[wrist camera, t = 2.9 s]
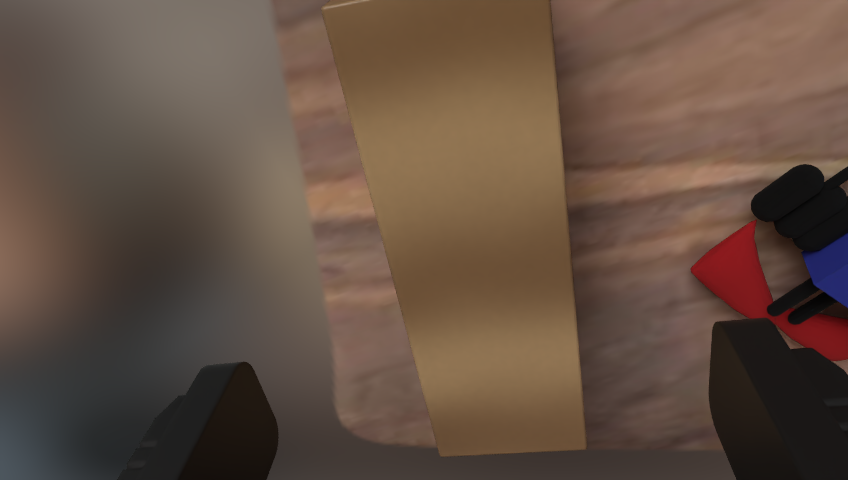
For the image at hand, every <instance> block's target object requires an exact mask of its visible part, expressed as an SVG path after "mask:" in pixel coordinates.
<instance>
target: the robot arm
mask: <svg viewBox="0 0 848 480" xmlns="http://www.w3.org/2000/svg"><path fill="white" fill-rule="evenodd" d="M709 403H710V409H711V414H712V419H713V422H714V426H715V429H716V431H717V434H718V436H719V439H720V441H721V443H722V446H723V448H724V451H725V453H726V455H727V458H728V460H729V462H730V465H731V467H732V470H733V472H734V475H735V477H736V479H737V480H848V375H847V373H846V372H845V371H844V370H843V369H842V368H840V367H839V366H837V365H836V364H834V363H833V362H832V361H830V360H829V359H827V358H826V357H824V356H823V355H822V354H820V353H819V352H817V351H816V350H814V349H813V348H800V349H790V348H789V347H788V345H787V344H786V342H785V340H784V339H783V337H782V336H781V334H780V333H779V331H778V330H777V328H776V327H775V325H774V324H773V322H772V321H771V320H770V319H768V318H753V319H742V320H731V321H719V322H715V324H714V326H713V330H712V343H711V360H710V377H709ZM277 446H278V426H277V422H276V419H275V416H274V414H273V412H272V410H271V408H270V405H269V403H268V401H267V398H266V396H265V394H264V392H263V390H262V387H261V385H260V383H259V381H258V378H257V376H256V374H255V371H254V370H253V368H252V366H251V365H250V364H249V363H247V362H237V363H225V364H214V365H206V366H205V367H203V368H202V369H201V370H200V372H199V373H198V375H197V376H196V378H195V380H194V381H193V383H192V385H191V387H190V388H189V390H188V392H187V393H186V395H183V396H178V397H177V398H176V399H175V400H174V401H173V402H172V403H171V404H170V405H169V406H168V407H167V408H166V409H165V410H163V412H161V413H160V414H159V415H158V416H157V417H156V418H155V420H154V421H153V423H152V425H151V426H150V428H149V429H148V431H147V432H146V434H145V436H144V437H143V439H142V441H141V442H140V448H137V449H136V450H135V452H134V453H133V455H132V456H131V458H130V460H129V461H128V463H127V469H126V470H123V471H122V472H121V474H120V476H119V477H118V479H117V480H266V479H267V476H268V474H269V471H270V468H271V465H272V463H273V460H274V458H275V455H276V451H277Z"/></svg>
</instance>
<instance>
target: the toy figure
mask: <svg viewBox="0 0 848 480" xmlns="http://www.w3.org/2000/svg"><path fill="white" fill-rule="evenodd" d="M847 180H848V167H846V168H845V169H843V170H842V171H840V172H839V173H837V174H836V175H834V176H833V177H832V178H830V179H829V180H827V181H826V182H824V176H823V174H822V172H821V171H820V170H819V169H818V168H817V167H814V166H812V165H807V164H804V165H799V166H796V167H794V168H792V169H791V170H789V171H788V172H787V173H785V174H784V175H782V176H781V177H780V178H778V179H777V180H776V181H774V182H773V183H772V184H770V185H769V186H767V187H766V188H765V189H763V190H762V191H761V192H759V193H758V194H756V195H755V196H754V198H753V200H752V202H751V210H752V212H753V214H754V215H755V216H756V217H757V218H758V219H760V220H762V221H765V222H772V221H774V226H775V229H776V231H777V232H778V233H779V234H780V235H782V236H783V237H786V238H792V240H793V242H794V244H795V245H796V246H797V247H798V248H799V249H801V250H804V251H802V252H801V253H802V255H803V258H804V261H805V263H806V266H807V268H808V271H809V273H810V276H811V278H810V279H808V280H807V281H805V282H804V283H802V284H801V285H799V286H798V287H796V288H794V289H793V290H791V291H790V292H788V293H787V294H785V295H784V296H782V297H781V298H779V299H778V300H776V301H774V302H773V299H772V296H771V293H770V291H769V288H768V285H767V282H766V280H765V277H764V274H763V271H762V268H761V265H760V262H759V257H758V253H757V248H756V244H755V240H754V234H755V227H756V221H757V220H754V221H751V222H750V223H748V224H747V225H745V226H744V227H742V228H741V229H739V230H738V231H736V232H735V233H733V234H732V235H730V236H729V237H728V238H726V239H725V240H723V241H722V242H721V243H719V244H718V245H716V246H715V247H714V248H712V249H711V250H710V251H709V252H707V253H706V254H705V255H704V256H703V257H702V258H701V259H700V260H699V261H698V262H697V263H696V264H695V265H694V266H693V267H692V268H691V272H692V273H693V274H694V275H695V276H696V277H697V278H698V279H699V281H701V282H702V283H703V284H704V285H705V286H706V287H708V288H709V289H710V290H711V291H712V292H713V293H714V294H716V295H717V296H718V297H719V298H721V299H722V300H724V301H725V302H726V303H727V304H728V305H729V306H731V307H732V308H733V309H734V310H736V311H738V312H739V313H741V314H743V315H744V316H746V317H748V318H750V319H753V318H768V319H770V320H771V321H772V322H773V324H774V325H775V324H776V325H777V326H778V327H779V328H780V329H781V330H782V331H783V332H784V333H786V334H787V335H788V336H789V337H790V338H792V339H793V340H795V341H797V342H798V343H800V344H801V345H803V346H804V347H806V348H813V349H814V350H816V351H817V352H819V353H820V354H822V355H823V356H824V357H826V358H827V359H829V360H831V361H840V360H846V359H848V319H843V318H838V317H833V316H828V315H824V314H819V312H821V311H823V310H824V309H826V308H828V307H829V306H831V305H833V304H834V303H836V302H840V303H841V304H843V305H844V306H846V307H847V308H848V196H846V193H845V192H844V190H843V189H842V188H840V187H839V185H841V184H842V183H844V182H845V181H847ZM820 289H821V290H822V291H824V292H823V293H821V294H820V295H818V296H817V297H815V298H813V299H812V300H810V301H809V302H807V303H805V304H804V305H802V306H801V307H799V308H797V309H793V308H792V307H793V306H795V305H797V304H798V303H800V302H801V301H803V300H804V299H806V298H808V297H809V296H811V295H812V294H814V293H816V292H817V291H819V290H820Z"/></svg>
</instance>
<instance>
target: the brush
mask: <svg viewBox="0 0 848 480" xmlns="http://www.w3.org/2000/svg"><path fill="white" fill-rule="evenodd" d="M321 11H322V15H323V19H324V22H325V26H326V30H327V34H328V37H329V41H330V45H331V49H332V52H333V56H334V60H335V64H336V67H337V71H338V75H339V79H340V82H341V86H342V90H343V94H344V98H345V101H346V105H347V109H348V113H349V116H350V120H351V124H352V128H353V131H354V135H355V139H356V143H357V146H358V150H359V154H360V158H361V161H362V165H363V169H364V173H365V176H366V180H367V184H368V188H369V192H370V195H371V199H372V203H373V207H374V210H375V214H376V218H377V222H378V225H379V229H380V233H381V237H382V240H383V244H384V248H385V252H386V255H387V259H388V263H389V267H390V270H391V274H392V278H393V282H394V286H395V289H396V293H397V297H398V301H399V304H400V308H401V312H402V316H403V319H404V323H405V327H406V331H407V334H408V338H409V342H410V346H411V349H412V353H413V357H414V361H415V364H416V368H417V372H418V376H419V380H420V383H421V387H422V391H423V395H424V398H425V402H426V406H427V410H428V413H429V417H430V421H431V425H432V428H433V432H434V436H435V440H436V443H437V447H438V451H439V454H440V456H441V457H449V456H471V455H488V454H489V455H490V454H509V453H531V452H550V451H570V450H585V449H587V437H586V425H585V413H584V401H583V389H582V377H581V365H580V353H579V341H578V329H577V317H576V305H575V293H574V281H573V269H572V256H571V244H570V232H569V220H568V208H567V196H566V184H565V172H564V160H563V148H562V136H561V124H560V112H559V100H558V88H557V76H556V63H555V51H554V39H553V27H552V15H551V3H550V0H331V1H329V2H328V3H327V4H325V5H324V6H323V7H322V10H321Z"/></svg>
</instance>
